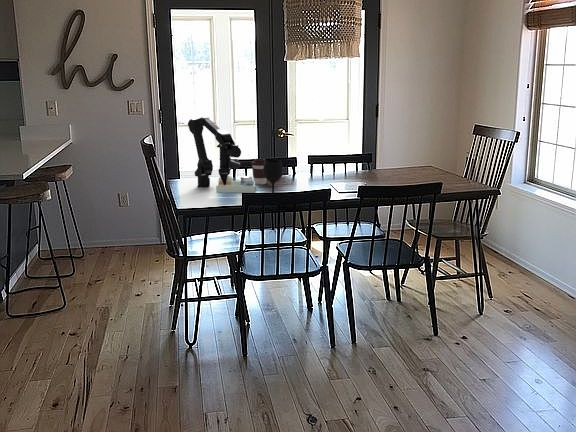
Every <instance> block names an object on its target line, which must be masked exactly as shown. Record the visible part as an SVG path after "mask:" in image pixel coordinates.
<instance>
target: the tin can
mask: <svg viewBox="0 0 576 432" xmlns="http://www.w3.org/2000/svg"><path fill="white" fill-rule="evenodd" d="M240 181H241V186H253V181H254V179H253V176H249V175H245V176H243V175H242V176H240Z"/></svg>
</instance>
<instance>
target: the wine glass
mask: <svg viewBox="0 0 576 432" xmlns="http://www.w3.org/2000/svg"><path fill="white" fill-rule="evenodd" d="M283 171H284V167H283V161H282V160H279V159H267V160H266V161H265V162H264V166H263V173H264V176H265V178H266V181H268V182H269V183H270V184H271V187H272V188H271V194H272V193H274V194H275V184H276V183H277V182H278V181H279V180H280V179H281V178H282V176H283V174H284V172H283Z"/></svg>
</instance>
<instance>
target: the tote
mask: <svg viewBox="0 0 576 432" xmlns="http://www.w3.org/2000/svg"><path fill="white" fill-rule="evenodd" d="M215 187H216V188H215V192H216V193H255V192H256V184H255V181H254V180H253V186H241V180H232V186H219V180H218V181H217V184H216V186H215Z"/></svg>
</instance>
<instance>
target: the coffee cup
mask: <svg viewBox="0 0 576 432" xmlns="http://www.w3.org/2000/svg"><path fill="white" fill-rule="evenodd" d="M265 161H266V159H265V158H254V159H253V161H250V162H251V166H252V168H251V169H252V179H253V181H255V185H266V184H267V179H266V178H265V176H264V173H263V166H264V162H265Z"/></svg>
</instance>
